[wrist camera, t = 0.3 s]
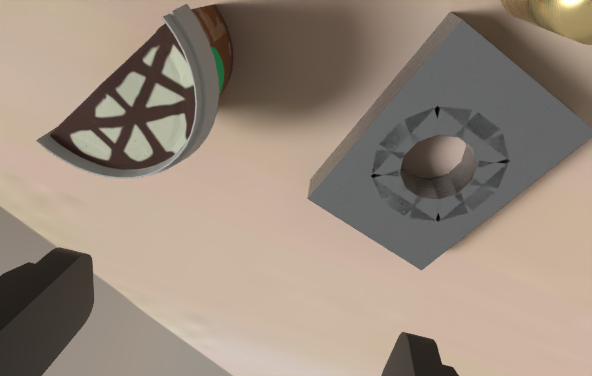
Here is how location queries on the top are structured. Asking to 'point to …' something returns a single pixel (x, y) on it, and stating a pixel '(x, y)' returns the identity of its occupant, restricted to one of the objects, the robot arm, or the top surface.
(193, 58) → the food container
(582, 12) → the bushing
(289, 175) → the top surface
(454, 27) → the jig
